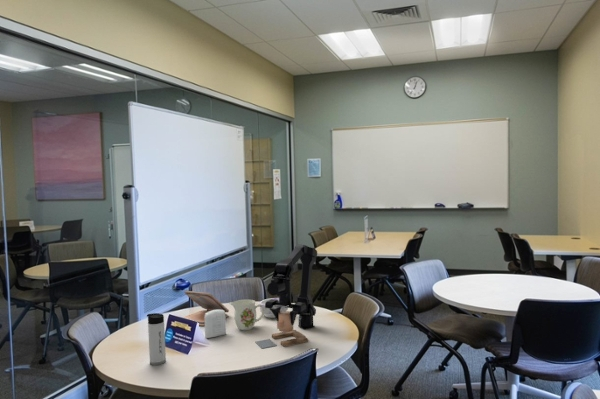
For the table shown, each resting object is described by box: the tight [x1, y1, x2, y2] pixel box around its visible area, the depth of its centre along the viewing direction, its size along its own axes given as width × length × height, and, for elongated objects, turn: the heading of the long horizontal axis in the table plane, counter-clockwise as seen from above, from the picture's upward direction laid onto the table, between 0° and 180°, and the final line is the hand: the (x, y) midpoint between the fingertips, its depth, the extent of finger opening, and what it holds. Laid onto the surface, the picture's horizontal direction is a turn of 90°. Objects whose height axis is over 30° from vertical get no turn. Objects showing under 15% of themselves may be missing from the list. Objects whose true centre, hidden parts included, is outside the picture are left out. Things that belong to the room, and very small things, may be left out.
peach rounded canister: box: [276, 310, 294, 332], centre depth 196 cm, size 10×7×8 cm
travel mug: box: [146, 312, 167, 366], centre depth 177 cm, size 6×7×20 cm
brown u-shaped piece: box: [271, 329, 309, 348], centre depth 198 cm, size 12×14×2 cm
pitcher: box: [228, 298, 265, 331], centre depth 216 cm, size 11×18×14 cm, turn 115°
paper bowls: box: [259, 297, 289, 319], centre depth 235 cm, size 15×15×8 cm
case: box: [183, 290, 230, 327], centre depth 234 cm, size 20×21×16 cm
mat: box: [255, 338, 277, 350], centre depth 193 cm, size 7×9×1 cm
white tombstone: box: [204, 310, 227, 339], centre depth 206 cm, size 10×4×12 cm, turn 123°
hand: (286, 324), depth 197 cm, fingers closed on peach rounded canister, 7 cm apart
